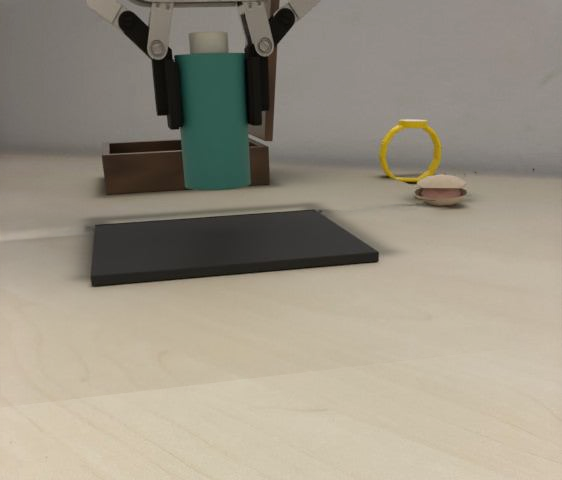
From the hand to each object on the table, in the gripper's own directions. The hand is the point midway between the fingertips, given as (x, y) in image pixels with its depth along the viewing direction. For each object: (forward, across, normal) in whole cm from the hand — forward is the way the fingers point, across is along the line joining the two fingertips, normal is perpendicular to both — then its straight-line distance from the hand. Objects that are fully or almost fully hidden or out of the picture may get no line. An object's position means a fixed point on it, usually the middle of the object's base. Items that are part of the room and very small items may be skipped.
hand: (213, 123), depth 45 cm
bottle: (+4, 0, 0) cm, 4 cm away
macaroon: (+8, -20, -8) cm, 23 cm away
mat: (+8, 0, 0) cm, 8 cm away
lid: (-5, -8, -26) cm, 28 cm away
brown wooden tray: (+8, 0, -26) cm, 27 cm away
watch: (+8, -22, -20) cm, 31 cm away
